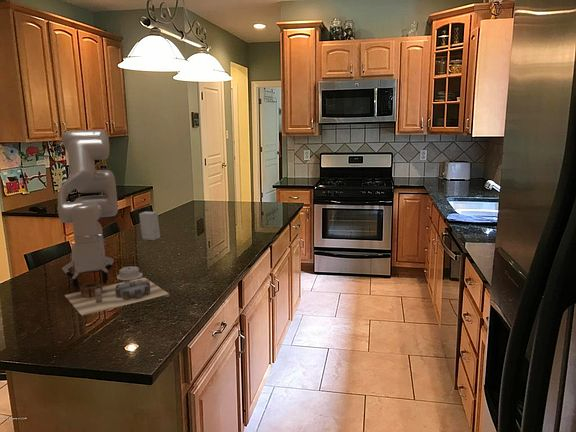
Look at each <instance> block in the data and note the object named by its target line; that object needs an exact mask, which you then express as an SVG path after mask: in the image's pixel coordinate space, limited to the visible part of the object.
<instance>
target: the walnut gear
mask: <svg viewBox="0 0 576 432" xmlns="http://www.w3.org/2000/svg"><path fill="white" fill-rule="evenodd" d="M102 287H103V283H102V282H99V281H91V282H85V283H83V284H81V285H80V286H79V290H80V291H79V292H81V296H82V298H83V297H84V298H90V297H91V298H93V297H96V296H95V289H98V288H101V293H102V294H103V290H102Z"/></svg>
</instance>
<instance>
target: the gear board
mask: <svg viewBox="0 0 576 432" xmlns="http://www.w3.org/2000/svg"><path fill="white" fill-rule="evenodd" d="M102 290H103V294H102V293H101V288H98V289H95V296H96V297H93V298H91V297H90V298H84V297H83V298H82V296H81V292H80V291H76V292H72V293H68V294H64V297H65V298H66V299H67V301H68V302H69V303H70V304H71V305H72V306H73V307H74V308H75V310H76V311H77V312H78V313H79V315H81V317H82V318H81V319H86V318H87V319H88V318H89V317H93V316H98V315H102V314H105V313H110V312H114V311H117V310H118V311H119V308H120V307H121V308H120V310H121V309H123V306H124V309H125V308H127V305H129V306H128V308H129V307H131V305H132V304H134V305H132V307H134V306H135V304H136V306H137V305H139V303H140V305H142V304H143V301H144V304H147V300H150V301H148V303H150V302H151V300H152V299H153V300H152V302H154V301H155V298H157V299H156V301H158V300H159V297H160V300H162V299H163V297H164V299H165V298H169V297H170V296H171V295H170V293H169V292H167V291H166V290H165V289H163V288H161V287H160V286H158V285H157V284H155V283H154V282H152V281H151V280H149V279H148V278H147V277H142V278H137V279H133V280H125V281H122V282H118V283H113V284H108V285H104V286H103V285H102ZM162 296H163V297H162ZM161 297H162V298H161ZM116 308H117V309H116ZM111 309H112V310H111ZM113 309H114V310H113ZM107 310H109V311H107ZM103 311H106V312H103ZM99 312H100V313H99ZM95 313H97V314H95ZM90 314H95V315H90ZM86 315H90V316H86ZM83 316H86V317H83Z"/></svg>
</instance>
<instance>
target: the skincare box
mask: <svg viewBox="0 0 576 432" xmlns="http://www.w3.org/2000/svg"><path fill="white" fill-rule="evenodd" d="M138 215H139V223H140V229H141V230H140V231H141V232H140V233H141V238H142V239H141V240H145V241H146V240H148V241H149V240H150V241H155V240H159V239H161V232H160V225H159V224H160V223H159V216H158V211H147V210H146V211H142V212H140V213H139V214H138Z"/></svg>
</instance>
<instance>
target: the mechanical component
mask: <svg viewBox="0 0 576 432" xmlns="http://www.w3.org/2000/svg"><path fill="white" fill-rule="evenodd" d="M140 278H144V277H143V273H142V272H140V268H139V267H138V266H123V267H122V268H120V269H119V274H118V275H117V276H116V279H117V280H119V281H131V280H136V279H140Z"/></svg>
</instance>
